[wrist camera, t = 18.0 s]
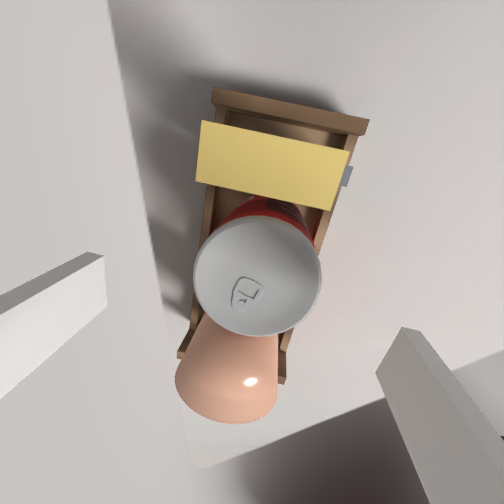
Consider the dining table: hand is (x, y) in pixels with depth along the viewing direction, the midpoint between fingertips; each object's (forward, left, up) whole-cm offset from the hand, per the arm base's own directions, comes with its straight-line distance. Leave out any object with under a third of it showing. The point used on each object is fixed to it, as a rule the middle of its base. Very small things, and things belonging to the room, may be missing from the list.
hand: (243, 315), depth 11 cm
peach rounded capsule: (+9, 0, -15) cm, 17 cm away
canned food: (0, 0, -15) cm, 15 cm away
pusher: (-6, 0, -15) cm, 16 cm away
